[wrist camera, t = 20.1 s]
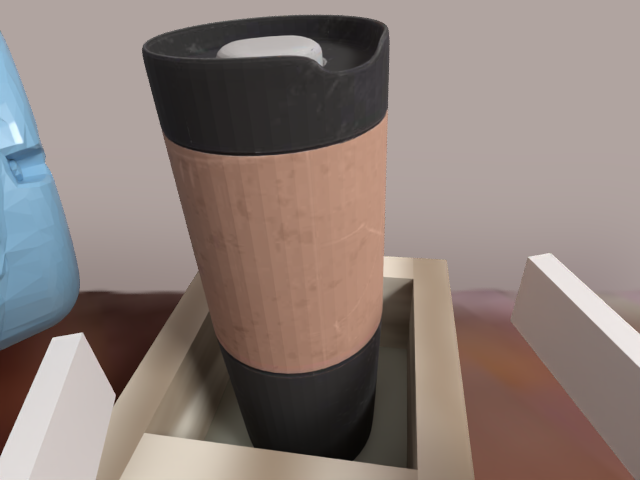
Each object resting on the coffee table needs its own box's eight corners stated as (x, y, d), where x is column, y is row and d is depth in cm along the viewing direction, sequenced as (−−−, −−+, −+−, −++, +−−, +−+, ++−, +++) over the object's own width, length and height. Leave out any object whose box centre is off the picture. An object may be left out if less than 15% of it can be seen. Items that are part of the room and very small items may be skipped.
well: (127, 550, 20) (70, 475, 16) (231, 321, 32) (213, 246, 28) (454, 611, 18) (482, 540, 14) (435, 339, 30) (446, 259, 26)
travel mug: (256, 361, 28) (185, 19, 16) (374, 363, 27) (384, 9, 16) (229, 483, 22) (83, 66, 10) (381, 488, 21) (407, 52, 10)
